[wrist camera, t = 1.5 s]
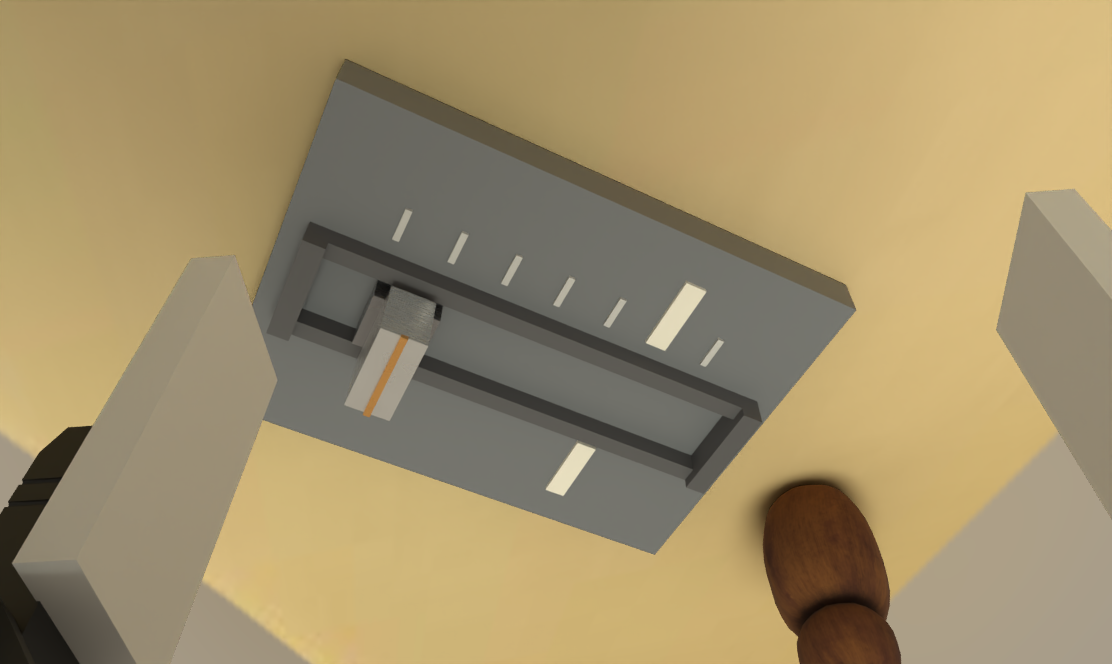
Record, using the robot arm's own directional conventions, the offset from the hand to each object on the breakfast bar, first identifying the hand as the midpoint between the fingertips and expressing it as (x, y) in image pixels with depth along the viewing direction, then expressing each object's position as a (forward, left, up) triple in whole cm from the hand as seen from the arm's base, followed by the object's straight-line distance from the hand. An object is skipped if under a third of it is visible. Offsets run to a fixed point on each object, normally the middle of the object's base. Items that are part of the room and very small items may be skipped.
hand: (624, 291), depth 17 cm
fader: (-1, -17, -21) cm, 27 cm away
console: (+5, -17, -23) cm, 30 cm away
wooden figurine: (+24, -21, -24) cm, 40 cm away
